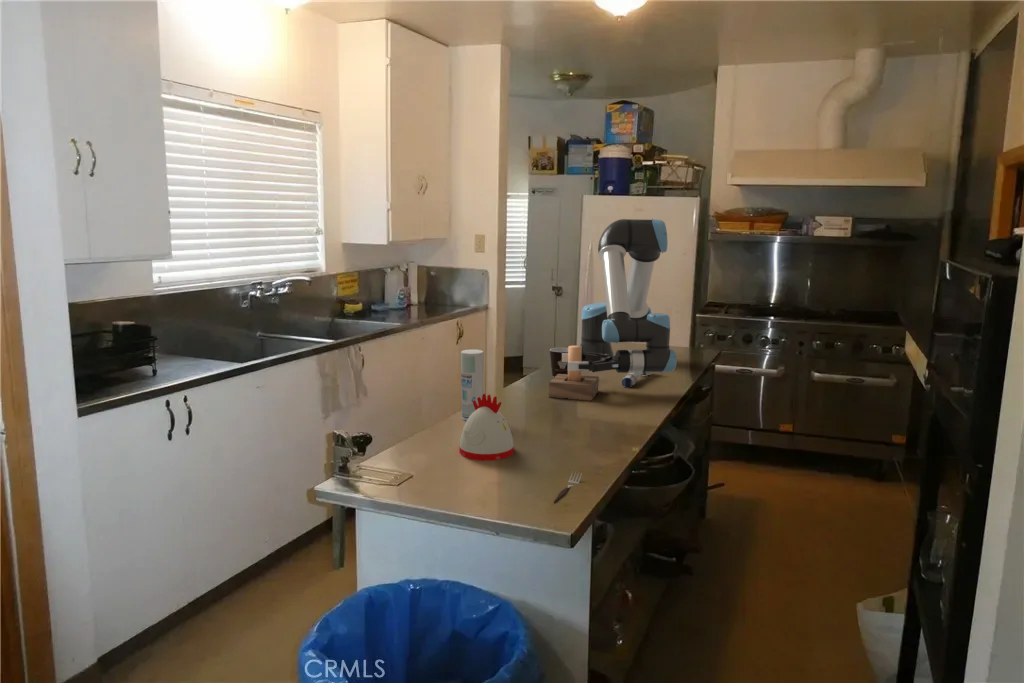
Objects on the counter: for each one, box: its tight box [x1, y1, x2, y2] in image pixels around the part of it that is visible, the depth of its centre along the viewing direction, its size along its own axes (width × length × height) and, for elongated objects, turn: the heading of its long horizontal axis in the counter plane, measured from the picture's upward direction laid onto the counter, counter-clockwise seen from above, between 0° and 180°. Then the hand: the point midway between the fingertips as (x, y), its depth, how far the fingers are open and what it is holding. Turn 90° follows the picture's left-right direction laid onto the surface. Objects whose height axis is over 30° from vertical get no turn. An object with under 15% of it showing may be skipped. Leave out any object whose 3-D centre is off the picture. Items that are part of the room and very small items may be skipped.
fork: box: [553, 471, 583, 504], centre depth 165 cm, size 3×16×2 cm, turn 157°
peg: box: [567, 345, 582, 382], centre depth 247 cm, size 4×4×16 cm
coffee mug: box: [549, 347, 568, 377], centre depth 272 cm, size 12×9×10 cm
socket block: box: [548, 374, 599, 401], centre depth 248 cm, size 13×14×5 cm
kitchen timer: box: [458, 393, 515, 461], centre depth 190 cm, size 14×14×15 cm
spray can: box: [460, 349, 485, 422], centre depth 218 cm, size 6×6×20 cm
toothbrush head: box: [621, 371, 653, 388], centre depth 268 cm, size 5×7×25 cm
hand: (564, 361), depth 246 cm, fingers open, 13 cm apart
